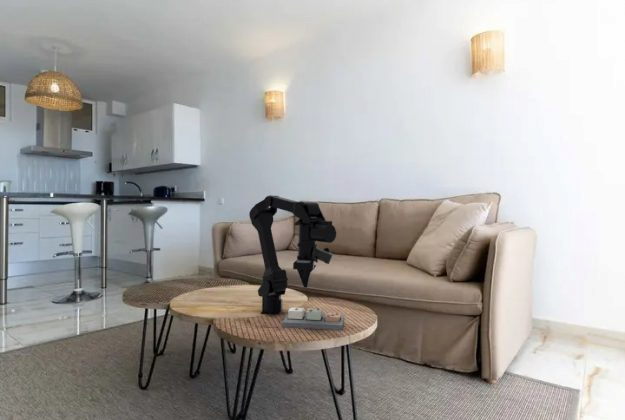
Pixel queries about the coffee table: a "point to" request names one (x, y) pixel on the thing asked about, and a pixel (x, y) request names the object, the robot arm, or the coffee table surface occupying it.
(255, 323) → the coffee table surface
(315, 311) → the tile two
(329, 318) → the tile three
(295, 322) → the board
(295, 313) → the tile one
